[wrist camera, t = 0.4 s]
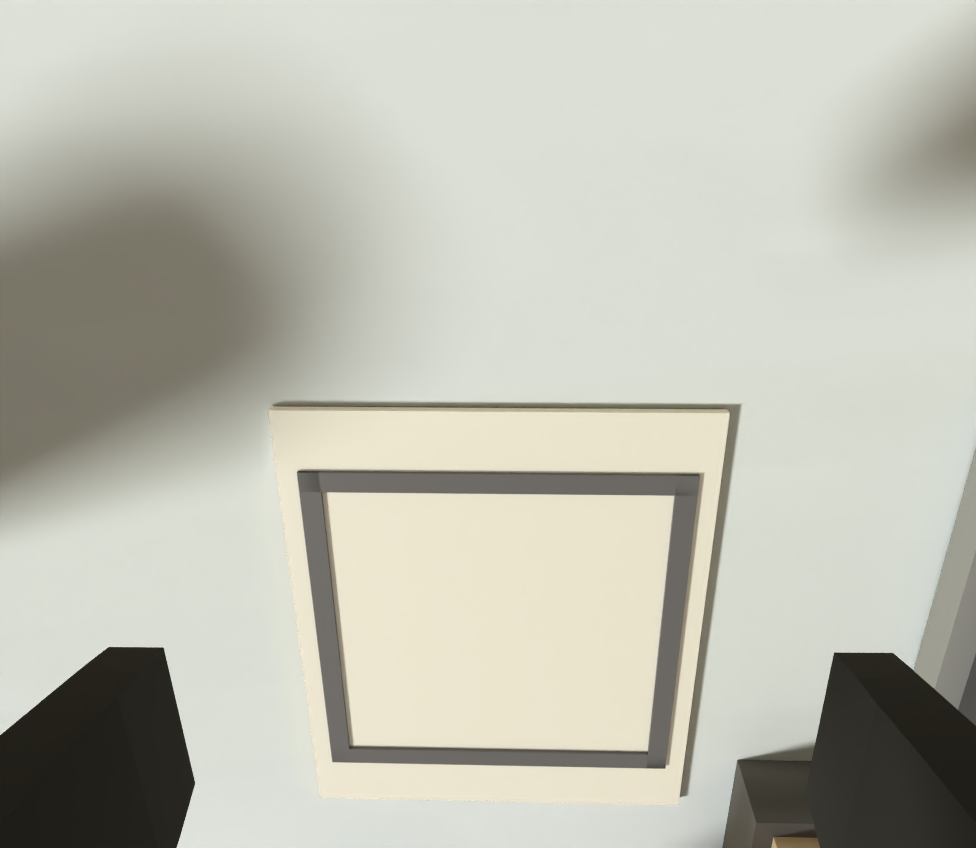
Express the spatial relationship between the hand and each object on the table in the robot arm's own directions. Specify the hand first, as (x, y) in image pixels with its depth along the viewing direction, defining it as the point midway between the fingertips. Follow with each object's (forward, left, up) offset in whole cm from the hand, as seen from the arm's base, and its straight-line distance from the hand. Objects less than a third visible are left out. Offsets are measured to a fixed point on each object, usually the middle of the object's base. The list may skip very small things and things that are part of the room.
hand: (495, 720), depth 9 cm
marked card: (-7, 0, -10) cm, 12 cm away
